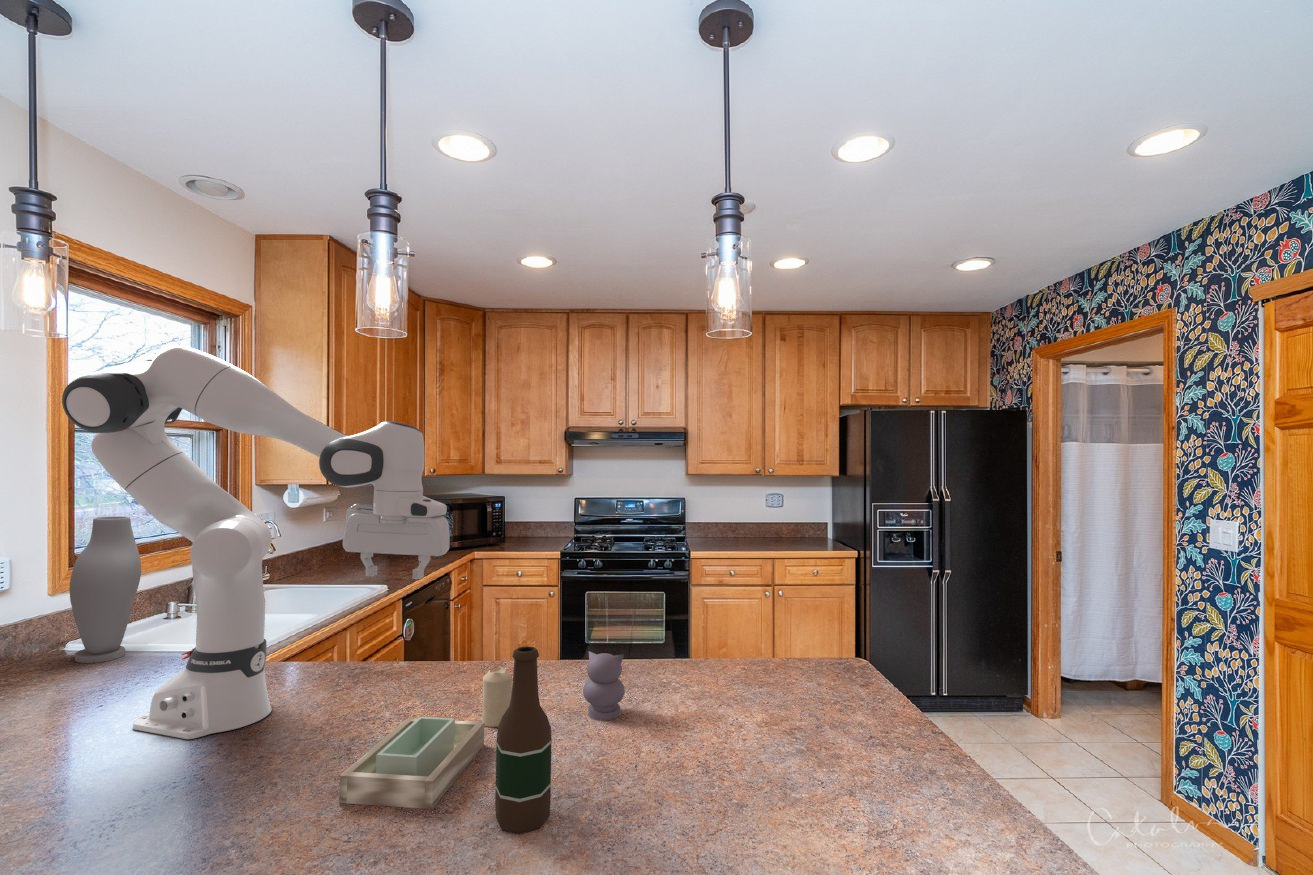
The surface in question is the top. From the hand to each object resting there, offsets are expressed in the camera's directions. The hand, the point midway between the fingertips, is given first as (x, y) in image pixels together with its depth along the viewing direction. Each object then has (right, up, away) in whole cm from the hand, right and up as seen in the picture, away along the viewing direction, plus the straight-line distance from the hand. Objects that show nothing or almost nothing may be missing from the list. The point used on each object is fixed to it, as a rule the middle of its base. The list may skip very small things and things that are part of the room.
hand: (394, 577), depth 119 cm
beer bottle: (+32, -28, -31) cm, 52 cm away
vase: (-89, -28, +36) cm, 100 cm away
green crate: (+12, -27, -18) cm, 34 cm away
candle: (+19, -29, +1) cm, 35 cm away
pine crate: (+12, -28, -18) cm, 35 cm away
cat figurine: (+40, -29, +5) cm, 50 cm away
